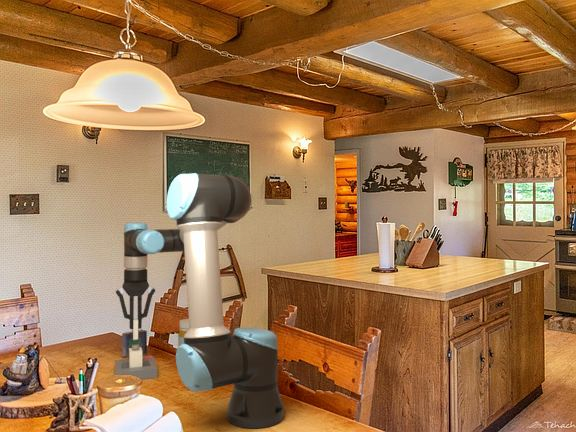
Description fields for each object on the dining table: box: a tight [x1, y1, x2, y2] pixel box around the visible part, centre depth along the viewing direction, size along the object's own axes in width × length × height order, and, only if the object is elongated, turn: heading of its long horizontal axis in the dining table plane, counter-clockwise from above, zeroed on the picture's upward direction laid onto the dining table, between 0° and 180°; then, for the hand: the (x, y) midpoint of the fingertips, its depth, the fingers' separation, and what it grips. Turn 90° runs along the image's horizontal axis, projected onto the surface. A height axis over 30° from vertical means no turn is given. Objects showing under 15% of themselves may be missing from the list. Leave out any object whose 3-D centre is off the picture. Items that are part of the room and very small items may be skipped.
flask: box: [121, 328, 148, 359], centre depth 188 cm, size 9×3×11 cm, turn 122°
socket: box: [114, 354, 158, 380], centre depth 167 cm, size 14×13×4 cm
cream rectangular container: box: [128, 344, 143, 368], centre depth 167 cm, size 5×4×10 cm
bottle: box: [177, 318, 189, 348], centre depth 179 cm, size 7×7×15 cm
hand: (135, 338), depth 167 cm, fingers closed
